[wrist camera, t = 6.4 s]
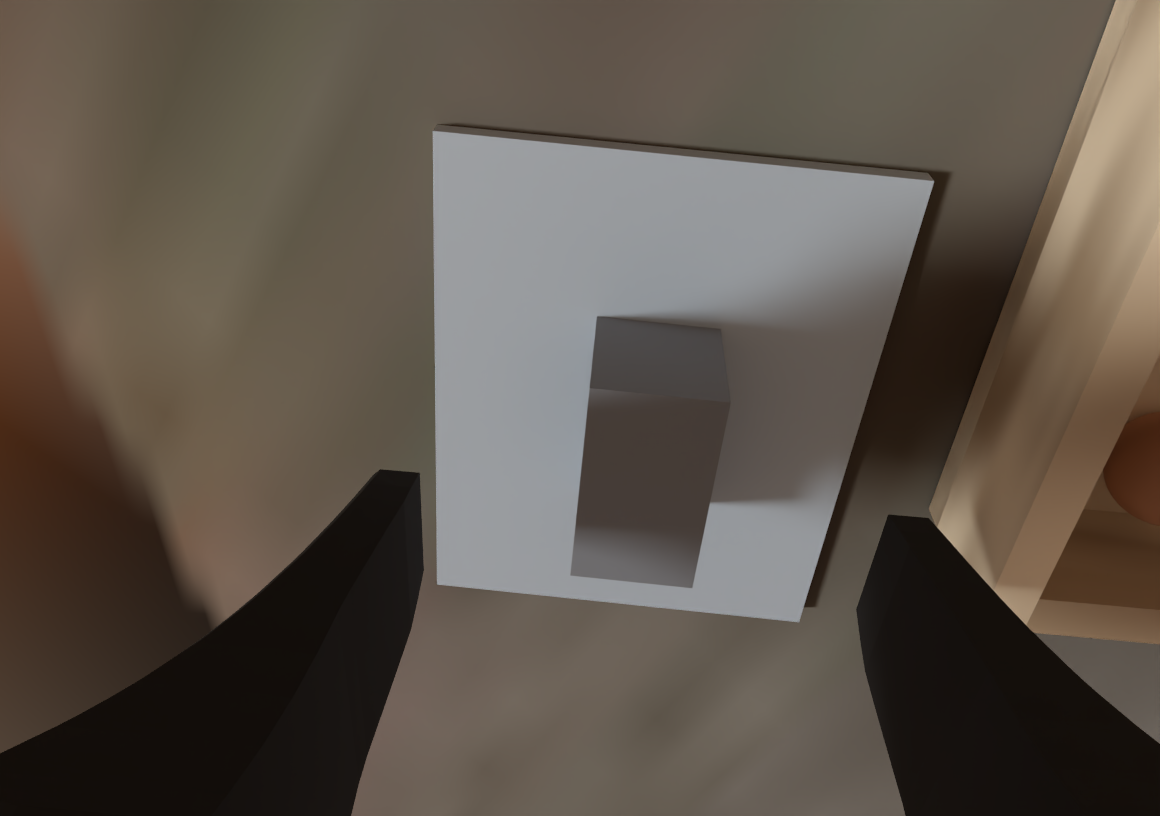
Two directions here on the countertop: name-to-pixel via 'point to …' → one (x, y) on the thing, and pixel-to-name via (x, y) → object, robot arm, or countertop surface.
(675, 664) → the countertop surface
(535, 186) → the lid
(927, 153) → the countertop surface
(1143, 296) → the box
